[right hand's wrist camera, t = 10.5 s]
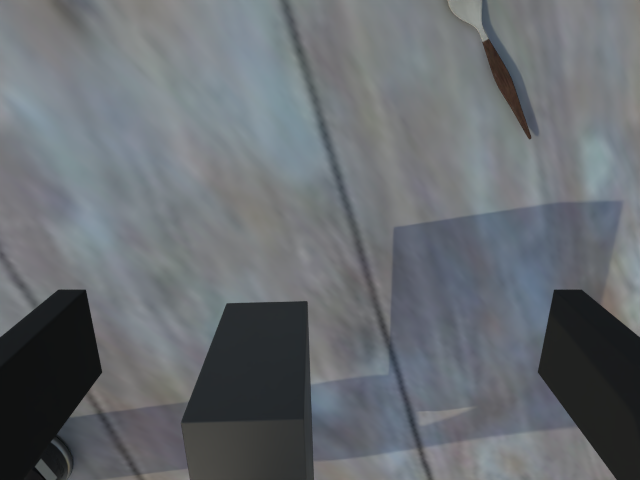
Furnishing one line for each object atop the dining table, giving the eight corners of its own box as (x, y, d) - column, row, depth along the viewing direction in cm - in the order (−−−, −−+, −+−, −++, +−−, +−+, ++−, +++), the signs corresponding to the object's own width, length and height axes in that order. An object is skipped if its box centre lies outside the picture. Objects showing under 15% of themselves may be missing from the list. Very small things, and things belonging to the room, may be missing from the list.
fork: (513, 146, 39) (523, 149, 37) (430, -33, 35) (436, -39, 33) (541, 130, 39) (553, 132, 37) (461, -53, 34) (469, -61, 32)
